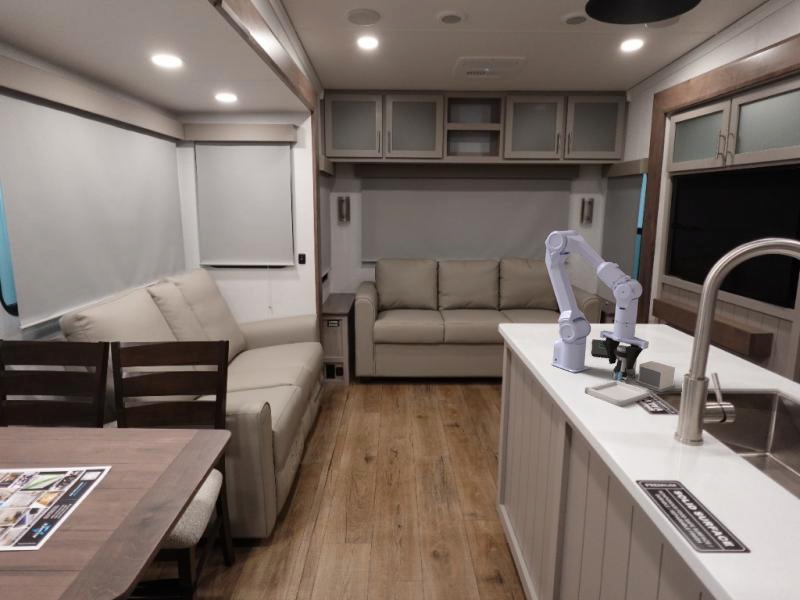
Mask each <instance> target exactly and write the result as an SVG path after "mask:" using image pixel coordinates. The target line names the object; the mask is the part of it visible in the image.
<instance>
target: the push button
mask: <svg viewBox="0 0 800 600" xmlns="http://www.w3.org/2000/svg"><path fill="white" fill-rule="evenodd" d="M626 347H627V345H623V344H621V345H620V344H619V346H617V348H614V355H616V356H617V359H616V365H615V366H614V367H613V371H612V377H613V380H617V381H620V382H623V383H626V384H627V382H626V380H627V378H628V376H627V373H626V368H625V366H626V360H627V353H626Z"/></svg>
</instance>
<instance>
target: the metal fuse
mask: <svg viewBox="0 0 800 600" xmlns="http://www.w3.org/2000/svg"><path fill="white" fill-rule="evenodd" d="M637 361H638V358H637V359H636V361H635V364H634V366H633V369H630V370H628V369H627V368H626V366H625V368H626V373H627V378H628V377H631V378H633V377H635V376H636V373H637V372H636V370H637ZM626 364H627V360H626Z"/></svg>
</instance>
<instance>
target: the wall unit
mask: <svg viewBox="0 0 800 600" xmlns="http://www.w3.org/2000/svg"><path fill="white" fill-rule="evenodd" d="M675 370H676V367H674V366H671V365H667V364H664V363H660V362H657V361H653V360H651V361H646V362H643V363H639V365H638V374H637V375H638V376H637V380H635V381H634V382H635V383H634V384H636V385H639V386H642V387H644V388H648V389H651V390H653V391H657V392H660V393H663V392H667V391H670V390H673V389H675V388H676V385H674V379H675V372H676V371H675Z"/></svg>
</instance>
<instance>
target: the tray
mask: <svg viewBox="0 0 800 600" xmlns="http://www.w3.org/2000/svg"><path fill="white" fill-rule="evenodd" d="M584 394H587V395H590V396H591V397H594V398H596V399H599V400H602V401H603V402H606V403H610V404H612V405H615V406H617V407H623V406H626V405H630V404H633V403H637V402H639V401H642V400H645V399H648V398H647V397H649V396H650V397H651V391H649V390H646V389H643V388H640V387H637V386H634V385H632V384H628V383H627V382H626V383H625V382H621V381H618V380H617V379H612V380H609V381H605V382H601V383H598V384H594V385H590V386H586V387H584ZM650 397H649V398H650ZM644 398H645V399H644Z"/></svg>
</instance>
